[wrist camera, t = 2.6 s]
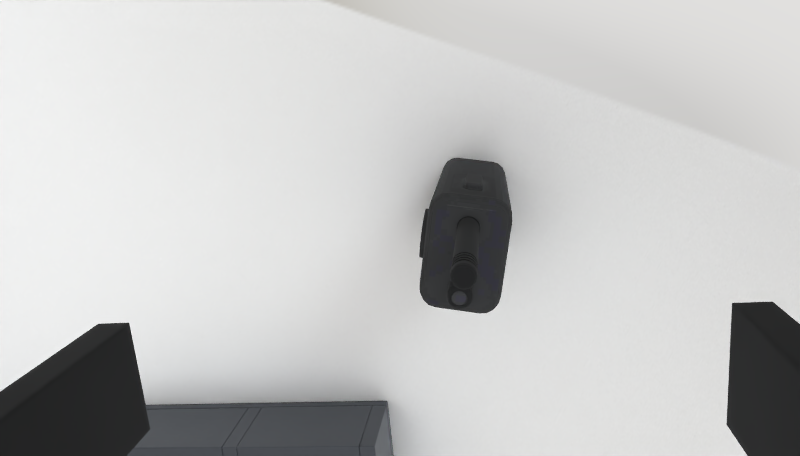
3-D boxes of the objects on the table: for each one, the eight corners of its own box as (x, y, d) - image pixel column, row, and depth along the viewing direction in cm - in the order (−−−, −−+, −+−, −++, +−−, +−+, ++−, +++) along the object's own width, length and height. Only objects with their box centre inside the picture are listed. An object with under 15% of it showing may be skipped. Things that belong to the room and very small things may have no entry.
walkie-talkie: (494, 249, 33) (502, 394, 19) (430, 241, 34) (389, 377, 19) (507, 158, 32) (526, 239, 18) (440, 150, 32) (406, 224, 18)
